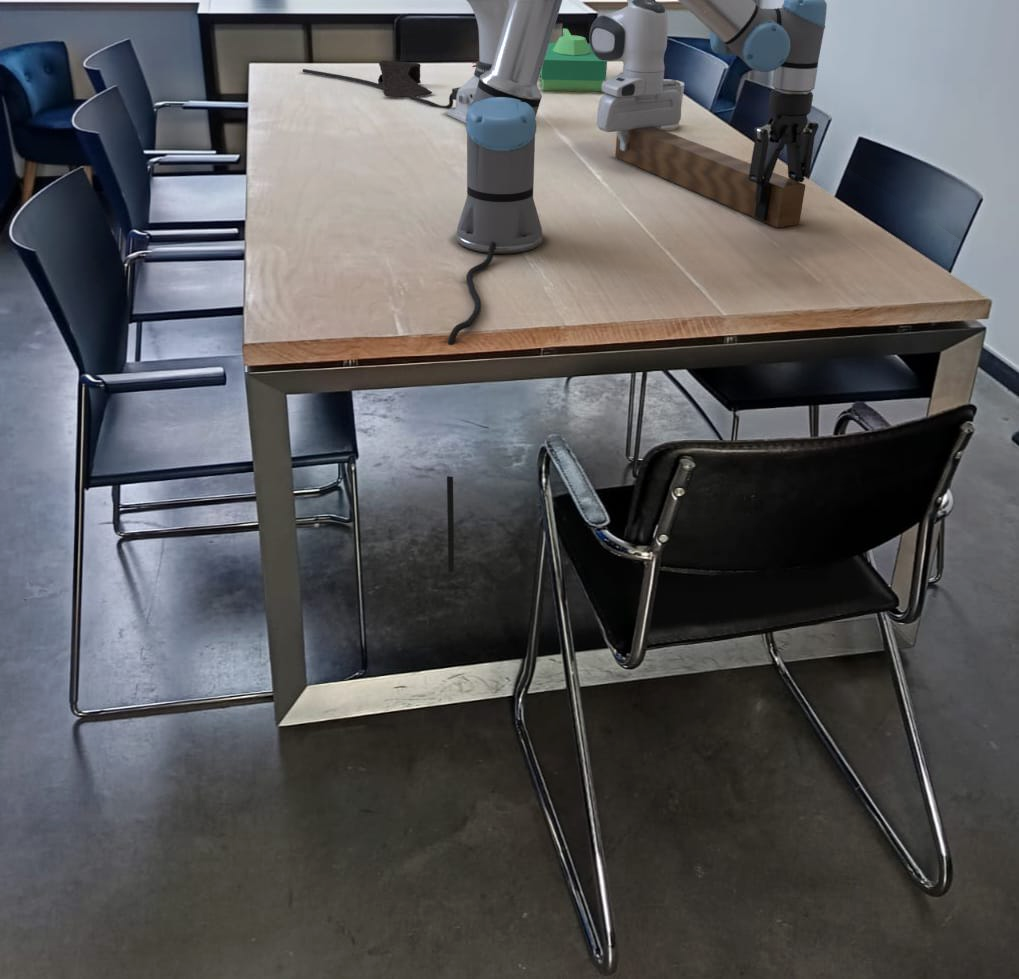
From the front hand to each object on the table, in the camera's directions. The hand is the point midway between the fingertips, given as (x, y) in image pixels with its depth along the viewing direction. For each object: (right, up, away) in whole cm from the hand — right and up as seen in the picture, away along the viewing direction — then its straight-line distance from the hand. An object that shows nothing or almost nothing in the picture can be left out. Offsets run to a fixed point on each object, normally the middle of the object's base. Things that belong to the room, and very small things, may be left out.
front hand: (773, 216), depth 209 cm
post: (-11, +10, +17) cm, 23 cm away
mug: (-13, +37, +61) cm, 73 cm away
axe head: (-80, +57, +91) cm, 134 cm away
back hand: (-22, +23, +33) cm, 46 cm away
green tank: (-34, +66, +108) cm, 131 cm away
